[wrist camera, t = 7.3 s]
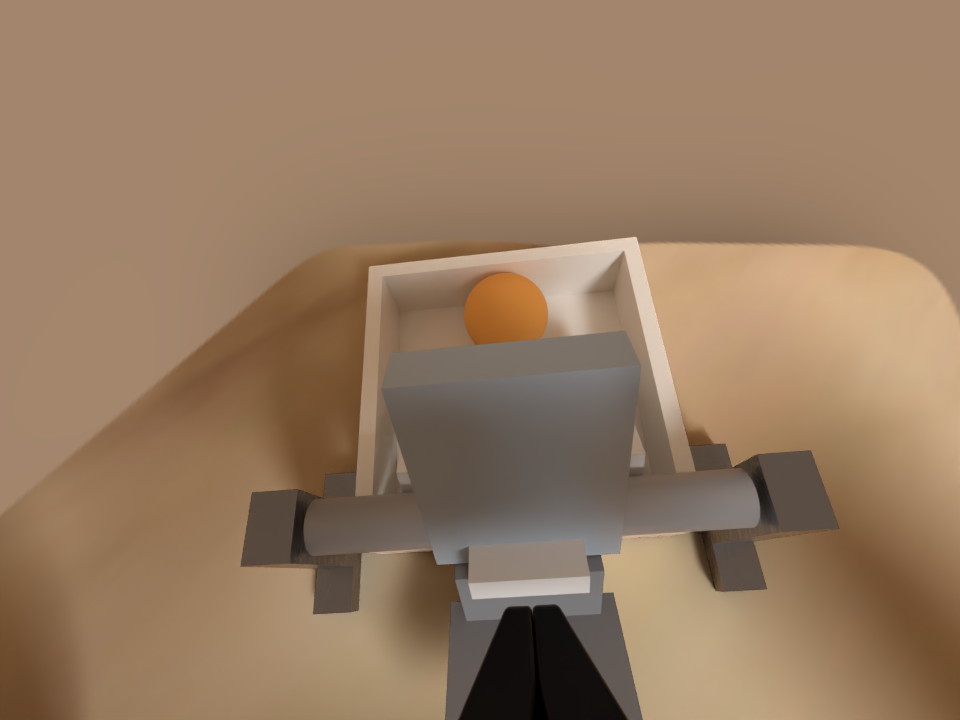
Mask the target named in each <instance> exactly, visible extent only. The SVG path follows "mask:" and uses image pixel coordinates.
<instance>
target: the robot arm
mask: <svg viewBox="0 0 960 720" xmlns="http://www.w3.org/2000/svg"><path fill="white" fill-rule="evenodd" d="M458 720H629V719H628V718H627V716H626V714H625V713H624V711H623V710H622V708H621V706H620V705H619V703H618V701H617V700H616V698H615V696H614V695H613V693H612V691H611V690H610V688H609V687H608V685H607V683H606V682H605V680H604V678H603V677H602V675H601V673H600V672H599V670H598V668H597V667H596V665H595V664H594V662H593V660H592V659H591V657H590V655H589V654H588V652H587V650H586V649H585V647H584V645H583V644H582V642H581V641H580V639H579V637H578V636H577V634H576V632H575V631H574V629H573V627H572V626H571V624H570V622H569V621H568V619H567V618H566V616H565V614H564V613H563V611H562V609H561V608H560V607H559V606H558V605H556V604H547V605H535V606H534V607H533V614H532V609H531V607H529V606H510V607H507V608H506V609H505V610H504V612H503V614H502V617H501V619H500V621H499V624H498V626H497V628H496V631H495V633H494V636H493V638H492V640H491V643H490V645H489V647H488V650H487V652H486V654H485V657H484V659H483V662H482V664H481V666H480V669H479V671H478V673H477V676H476V678H475V680H474V683H473V685H472V688H471V690H470V692H469V695H468V697H467V699H466V702H465V704H464V706H463V709H462V711H461V714H460V716H459V718H458Z"/></svg>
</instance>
